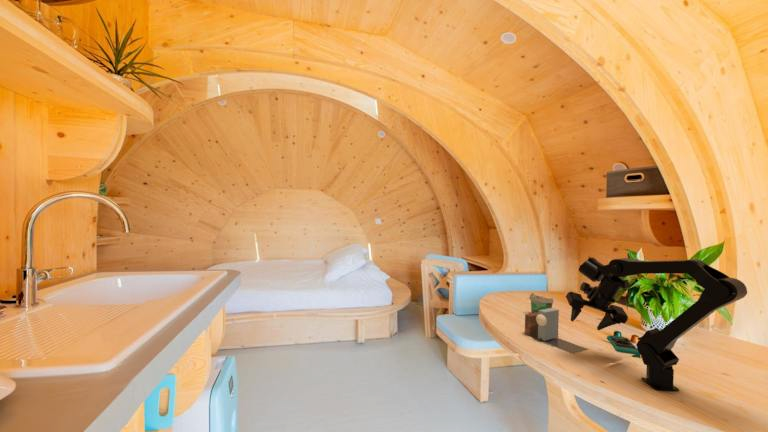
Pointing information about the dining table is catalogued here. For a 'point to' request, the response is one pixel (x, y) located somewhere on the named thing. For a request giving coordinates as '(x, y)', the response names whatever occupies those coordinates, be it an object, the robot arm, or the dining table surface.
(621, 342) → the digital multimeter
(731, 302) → the robot arm
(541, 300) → the food container
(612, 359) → the dining table surface
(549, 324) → the gauge carriage
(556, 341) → the base
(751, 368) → the dining table surface
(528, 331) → the brown wooden square slab
